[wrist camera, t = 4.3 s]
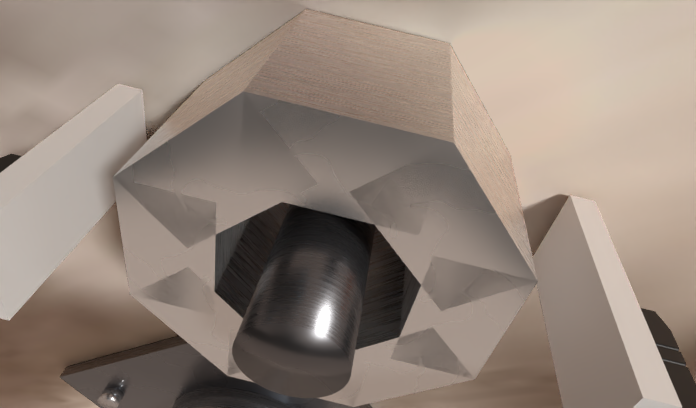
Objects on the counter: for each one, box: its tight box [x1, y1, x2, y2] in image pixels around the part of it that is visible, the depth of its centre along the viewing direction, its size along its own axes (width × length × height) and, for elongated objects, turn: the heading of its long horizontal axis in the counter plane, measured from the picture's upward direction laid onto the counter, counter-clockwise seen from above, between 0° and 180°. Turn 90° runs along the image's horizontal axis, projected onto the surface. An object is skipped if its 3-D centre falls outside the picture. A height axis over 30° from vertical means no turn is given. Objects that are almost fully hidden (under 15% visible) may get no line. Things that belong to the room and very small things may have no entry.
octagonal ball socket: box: [113, 9, 538, 407], centre depth 13 cm, size 9×9×5 cm
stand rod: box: [232, 204, 376, 398], centre depth 12 cm, size 2×2×7 cm
